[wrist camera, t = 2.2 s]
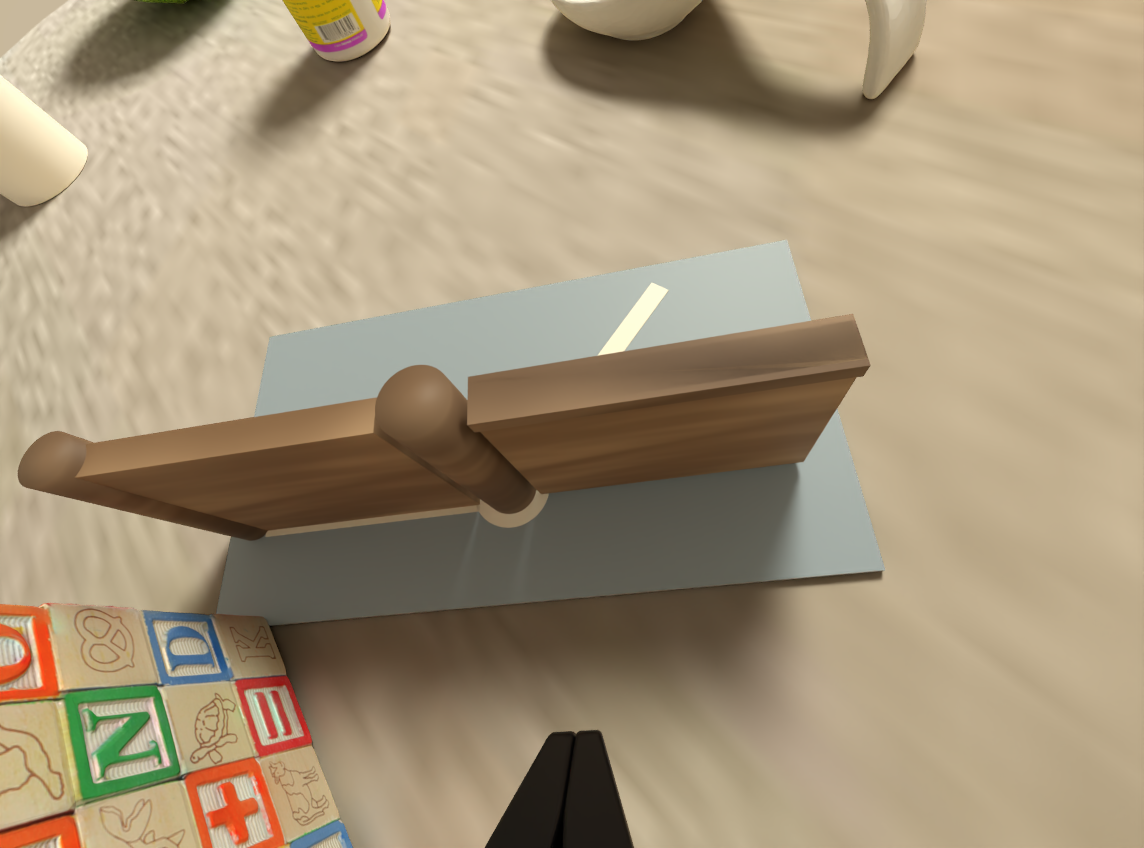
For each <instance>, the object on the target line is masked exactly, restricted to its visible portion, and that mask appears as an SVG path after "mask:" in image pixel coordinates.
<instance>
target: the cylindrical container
mask: <svg viewBox="0 0 1144 848" xmlns="http://www.w3.org/2000/svg"><path fill="white" fill-rule="evenodd" d="M87 157H88V151H87V148H86V146H85V145H84V144H83V143H82V142H80V141H79V140H78V139H77V138H76V137H74V136H73V135H72V134H71V133H70V132H68V131H67V130H66V129H65V128H64V127H62V126H61V125H60V124H59V123H58V122H56V121H55V120H54V119H53V118H51V117H50V116H49V115H48V114H47V113H45V112H44V111H43V110H42V109H41V108H39V107H38V106H37V105H36V104H35V103H33V102H32V101H31V100H30V99H29V98H27V97H26V96H25V95H24V94H22V93H21V92H20V91H19V90H18V89H16V88H15V87H14V86H13V85H12V84H10V83H9V82H8V81H7V80H6V79H4V78H3V77H2V76H1V75H0V194H1V195H3V196H4V197H6V198H8V199H9V200H11V201H12V202H14V203H15V204H17V205H19V206H24V207H25V206H34V205H37V204H40V203H43V202H45V201H47V200H49V199H51V198H53V197H54V196H56V195H57V194H59V193H60V192H62V191H63V190H64V189H65V188H67V187H68V186H69V185H70V184H71V183H72V182H73V181H74V180H75V179H76V177H77V176H78V175H79V174H80V172H81V171H82V169H83V167H84V165H85V163H86V160H87Z"/></svg>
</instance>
